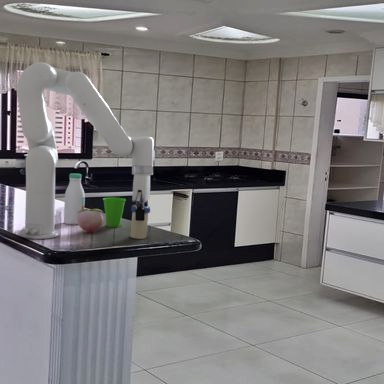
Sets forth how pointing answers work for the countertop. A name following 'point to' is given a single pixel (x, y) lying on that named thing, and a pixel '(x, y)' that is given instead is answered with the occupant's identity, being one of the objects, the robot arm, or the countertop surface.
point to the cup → (113, 211)
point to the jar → (138, 227)
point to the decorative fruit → (90, 219)
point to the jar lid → (146, 208)
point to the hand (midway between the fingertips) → (141, 218)
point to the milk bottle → (73, 199)
